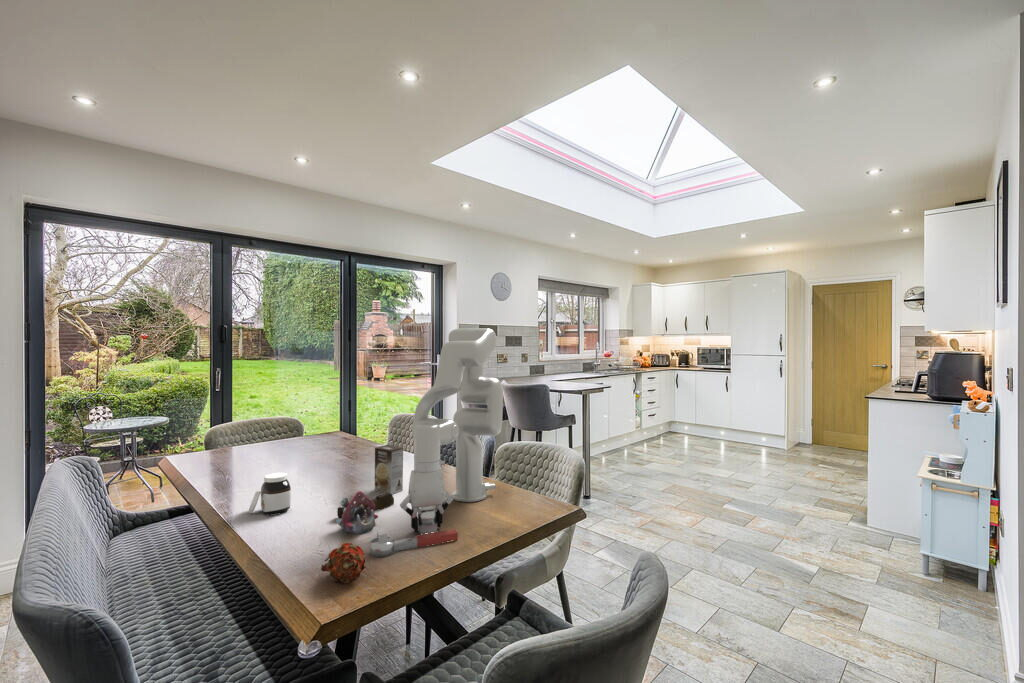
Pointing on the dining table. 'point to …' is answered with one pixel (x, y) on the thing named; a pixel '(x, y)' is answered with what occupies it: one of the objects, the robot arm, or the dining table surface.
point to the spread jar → (273, 494)
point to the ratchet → (408, 542)
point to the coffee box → (388, 469)
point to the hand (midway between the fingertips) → (426, 527)
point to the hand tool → (379, 501)
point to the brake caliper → (357, 514)
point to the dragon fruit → (345, 563)
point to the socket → (427, 520)
